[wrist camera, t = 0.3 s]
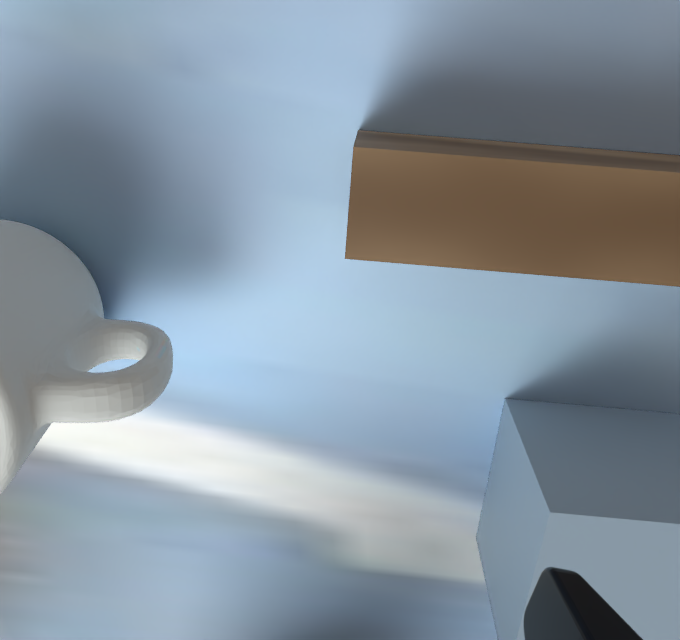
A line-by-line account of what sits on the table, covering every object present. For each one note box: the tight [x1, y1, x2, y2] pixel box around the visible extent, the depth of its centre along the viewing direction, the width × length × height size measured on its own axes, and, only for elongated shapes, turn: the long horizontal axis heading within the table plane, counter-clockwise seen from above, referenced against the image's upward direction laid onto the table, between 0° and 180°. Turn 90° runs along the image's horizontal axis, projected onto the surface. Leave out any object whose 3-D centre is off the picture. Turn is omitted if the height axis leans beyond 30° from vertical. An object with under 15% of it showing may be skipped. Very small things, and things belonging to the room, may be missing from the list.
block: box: [476, 398, 680, 640], centre depth 21 cm, size 7×7×6 cm
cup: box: [0, 219, 173, 494], centre depth 19 cm, size 11×8×8 cm
